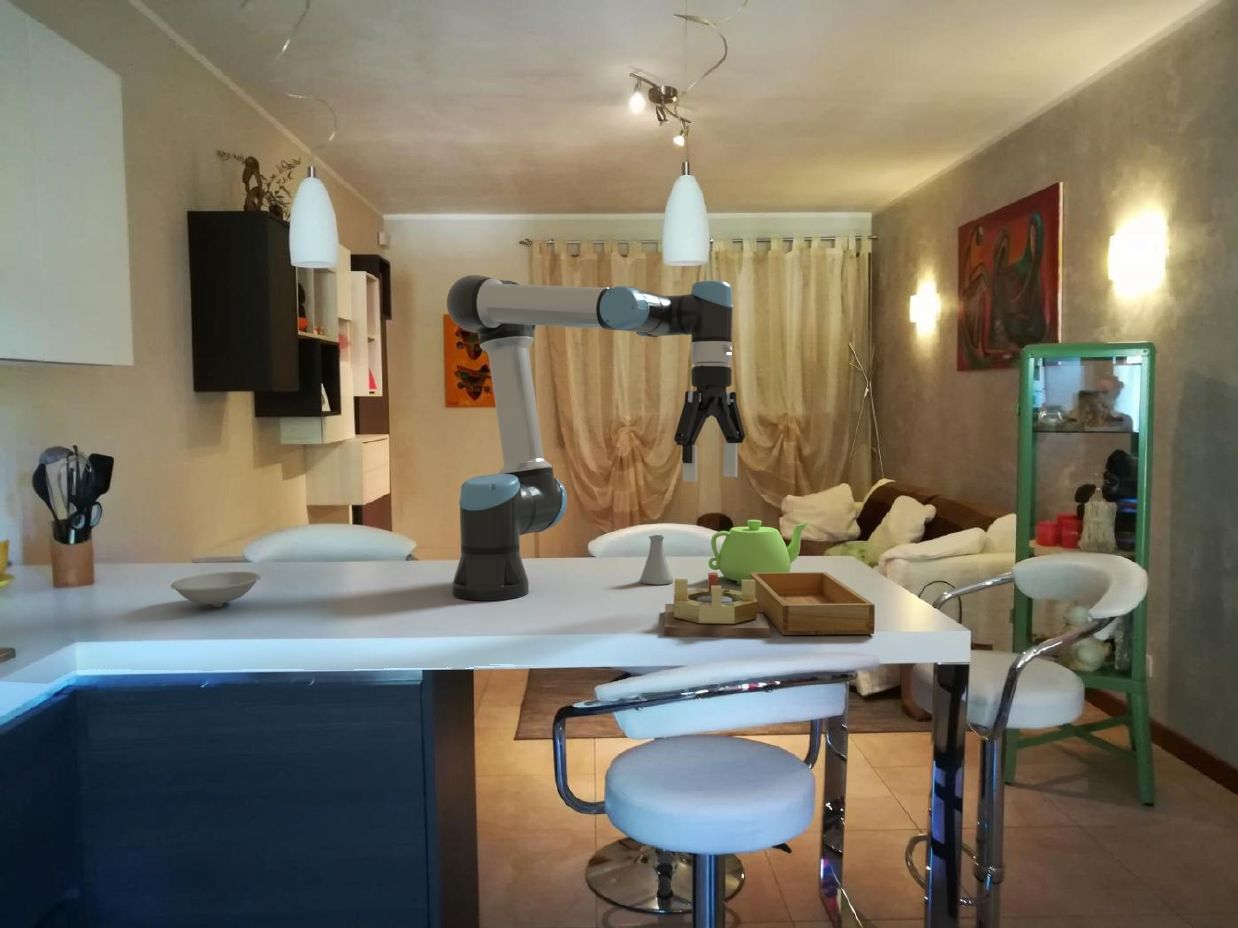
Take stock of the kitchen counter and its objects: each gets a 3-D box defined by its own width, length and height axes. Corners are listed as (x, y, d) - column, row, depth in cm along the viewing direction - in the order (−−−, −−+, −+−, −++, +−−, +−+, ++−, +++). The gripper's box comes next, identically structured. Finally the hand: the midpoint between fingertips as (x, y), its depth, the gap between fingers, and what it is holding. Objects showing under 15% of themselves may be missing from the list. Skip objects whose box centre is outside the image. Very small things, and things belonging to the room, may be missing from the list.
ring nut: (673, 622, 146) (673, 587, 146) (673, 603, 160) (673, 572, 160) (759, 623, 145) (759, 588, 145) (751, 604, 159) (752, 572, 159)
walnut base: (664, 635, 145) (664, 609, 144) (665, 611, 162) (665, 588, 161) (771, 637, 144) (772, 610, 143) (761, 612, 161) (761, 589, 160)
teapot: (799, 573, 199) (800, 515, 198) (819, 586, 184) (820, 524, 183) (702, 574, 198) (702, 516, 197) (714, 588, 183) (715, 525, 182)
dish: (225, 618, 157) (224, 590, 157) (151, 615, 159) (150, 588, 159) (278, 597, 175) (277, 572, 174) (211, 595, 177) (210, 570, 176)
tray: (749, 598, 175) (749, 570, 174) (826, 598, 175) (826, 569, 175) (781, 639, 144) (782, 605, 144) (874, 639, 144) (875, 604, 144)
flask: (674, 579, 192) (674, 533, 192) (672, 586, 185) (673, 538, 185) (640, 578, 193) (640, 533, 192) (638, 585, 186) (638, 537, 185)
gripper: (689, 362, 154) (688, 484, 155) (763, 367, 173) (762, 475, 174) (655, 363, 159) (654, 482, 160) (730, 368, 178) (729, 474, 179)
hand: (710, 479), depth 167 cm, fingers open, 13 cm apart
